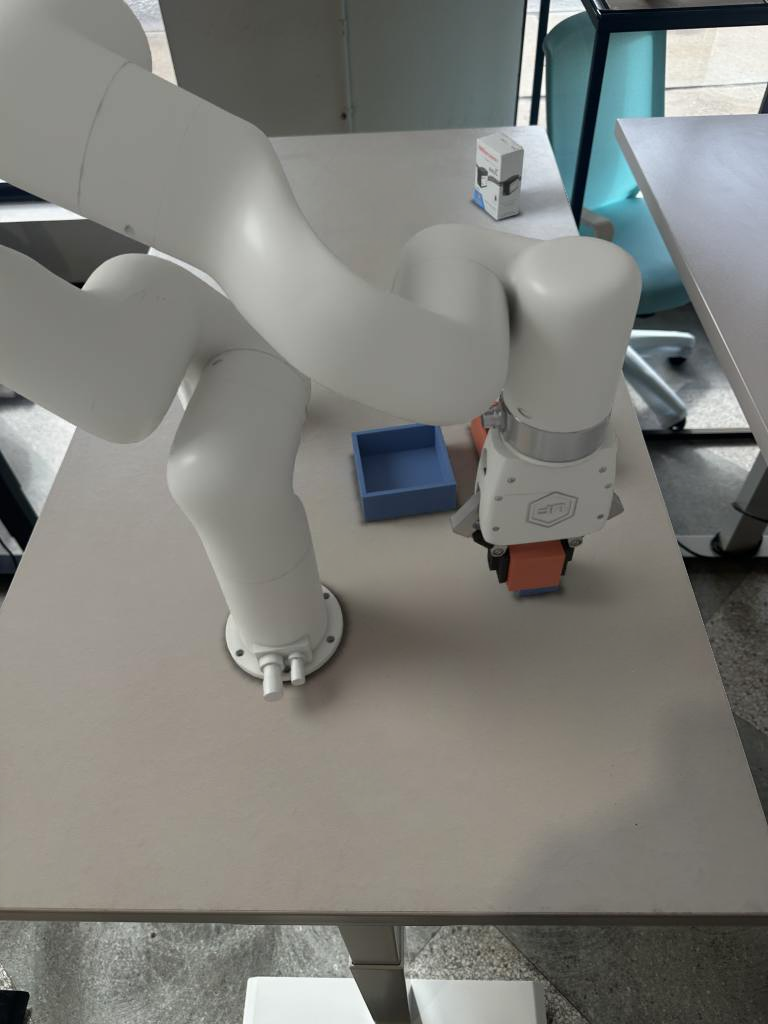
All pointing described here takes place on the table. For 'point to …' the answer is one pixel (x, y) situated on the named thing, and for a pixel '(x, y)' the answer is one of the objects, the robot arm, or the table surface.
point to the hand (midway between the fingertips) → (527, 565)
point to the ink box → (498, 175)
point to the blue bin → (403, 471)
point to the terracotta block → (535, 565)
